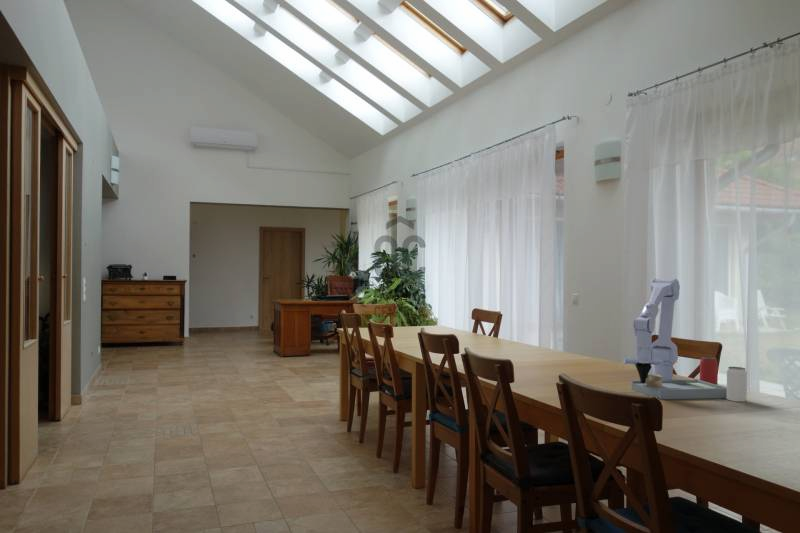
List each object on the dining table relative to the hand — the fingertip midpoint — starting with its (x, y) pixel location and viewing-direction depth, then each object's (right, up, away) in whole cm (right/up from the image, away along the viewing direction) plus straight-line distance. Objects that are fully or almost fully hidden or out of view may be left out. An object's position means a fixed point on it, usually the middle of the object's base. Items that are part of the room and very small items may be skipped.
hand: (642, 382), depth 242 cm
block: (+4, -1, -1) cm, 4 cm away
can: (+29, -4, -13) cm, 32 cm away
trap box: (+13, -4, -2) cm, 14 cm away
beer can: (+32, -4, +14) cm, 35 cm away
